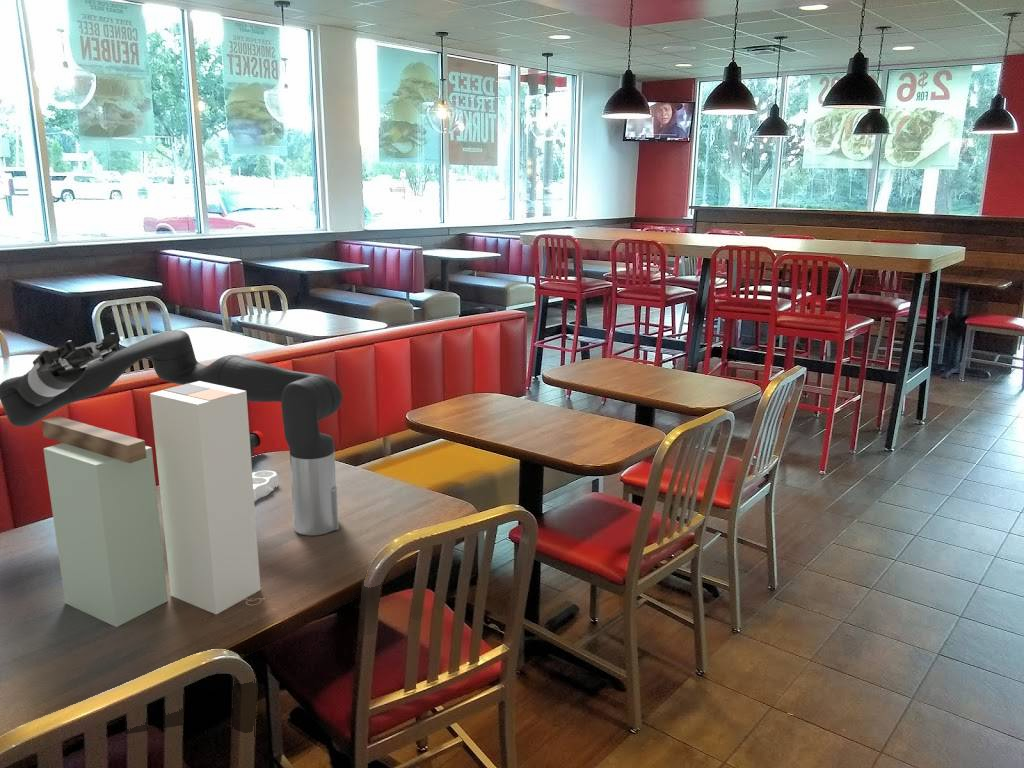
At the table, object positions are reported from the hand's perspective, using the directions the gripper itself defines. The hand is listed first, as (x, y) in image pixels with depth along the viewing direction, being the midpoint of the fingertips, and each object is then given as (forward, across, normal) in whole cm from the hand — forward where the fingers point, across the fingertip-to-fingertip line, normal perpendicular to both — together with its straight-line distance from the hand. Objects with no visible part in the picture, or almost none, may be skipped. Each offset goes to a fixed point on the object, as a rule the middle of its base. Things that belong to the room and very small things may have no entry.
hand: (94, 341), depth 150 cm
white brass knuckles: (-23, +33, +37) cm, 55 cm away
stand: (+5, -1, +52) cm, 53 cm away
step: (-6, -13, +46) cm, 48 cm away
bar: (+8, -13, +21) cm, 26 cm away
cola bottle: (-32, +27, +26) cm, 49 cm away
